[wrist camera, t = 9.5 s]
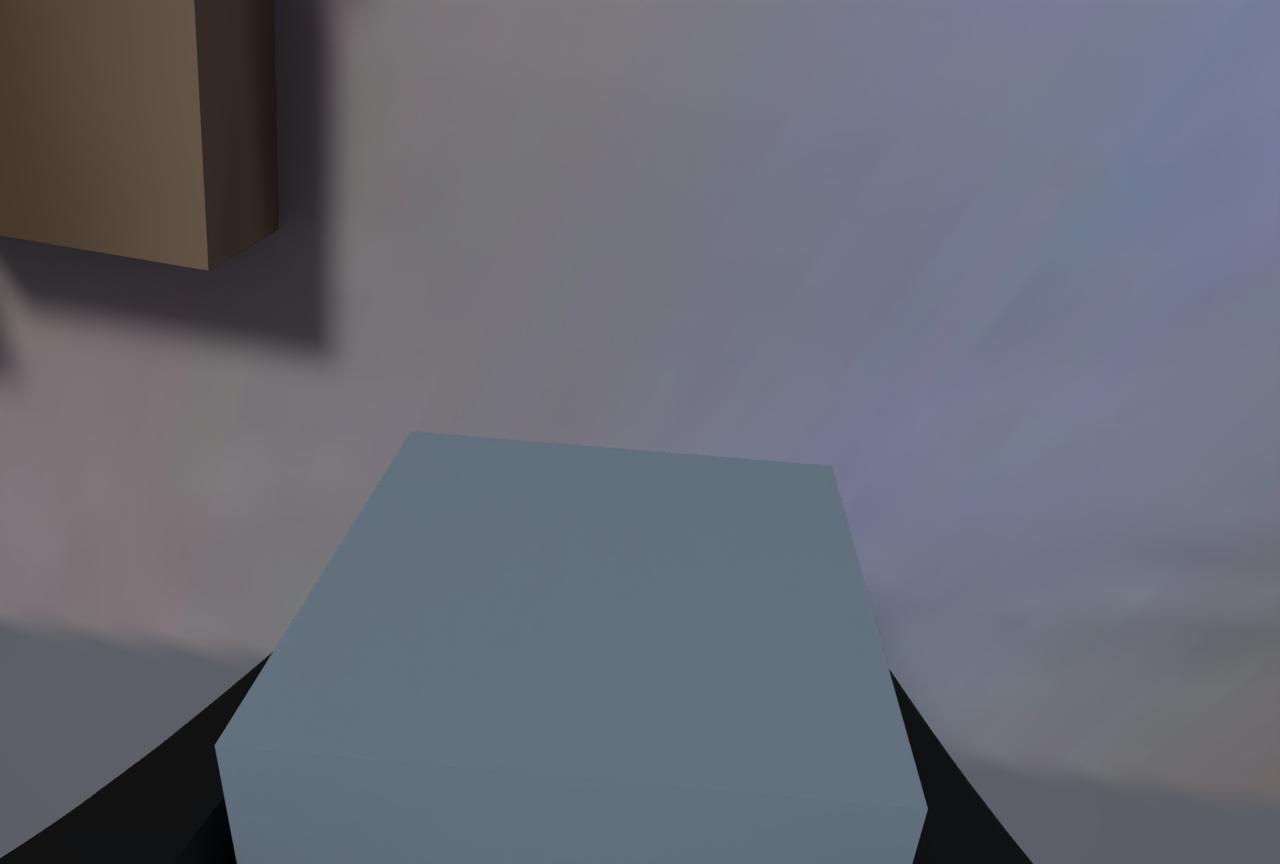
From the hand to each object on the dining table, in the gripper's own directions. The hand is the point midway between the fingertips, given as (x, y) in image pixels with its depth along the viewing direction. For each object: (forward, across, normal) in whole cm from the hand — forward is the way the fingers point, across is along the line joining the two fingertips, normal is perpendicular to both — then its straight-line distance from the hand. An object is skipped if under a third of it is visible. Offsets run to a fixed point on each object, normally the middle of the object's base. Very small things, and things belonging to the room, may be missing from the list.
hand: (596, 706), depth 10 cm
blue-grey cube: (+2, 0, 0) cm, 2 cm away
